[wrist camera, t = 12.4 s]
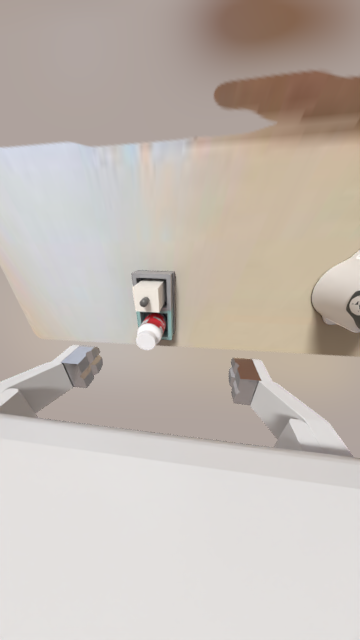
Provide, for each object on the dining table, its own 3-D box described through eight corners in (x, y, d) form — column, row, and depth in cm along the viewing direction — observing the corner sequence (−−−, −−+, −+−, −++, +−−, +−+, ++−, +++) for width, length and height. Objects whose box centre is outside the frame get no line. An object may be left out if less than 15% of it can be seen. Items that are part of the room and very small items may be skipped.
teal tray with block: (174, 270, 40) (166, 281, 30) (175, 331, 49) (168, 356, 38) (137, 269, 41) (116, 280, 31) (144, 329, 50) (129, 353, 39)
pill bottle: (171, 323, 45) (164, 346, 36) (155, 332, 47) (144, 356, 38) (158, 306, 43) (147, 326, 34) (142, 316, 45) (127, 338, 36)
